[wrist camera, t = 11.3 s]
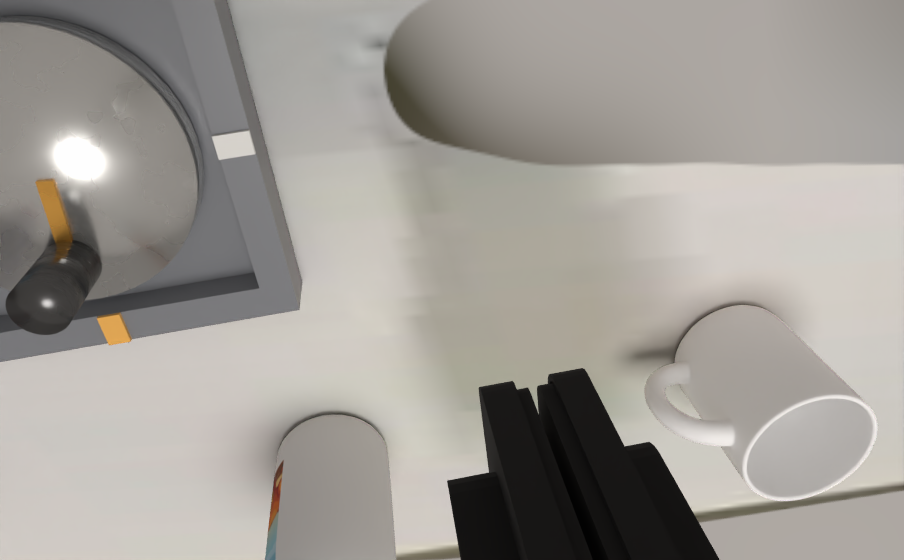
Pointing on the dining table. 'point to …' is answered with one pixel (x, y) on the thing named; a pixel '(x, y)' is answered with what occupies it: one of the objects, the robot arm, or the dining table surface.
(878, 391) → the dining table surface
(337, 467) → the milk bottle
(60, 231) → the dial
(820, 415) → the mug
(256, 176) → the housing
